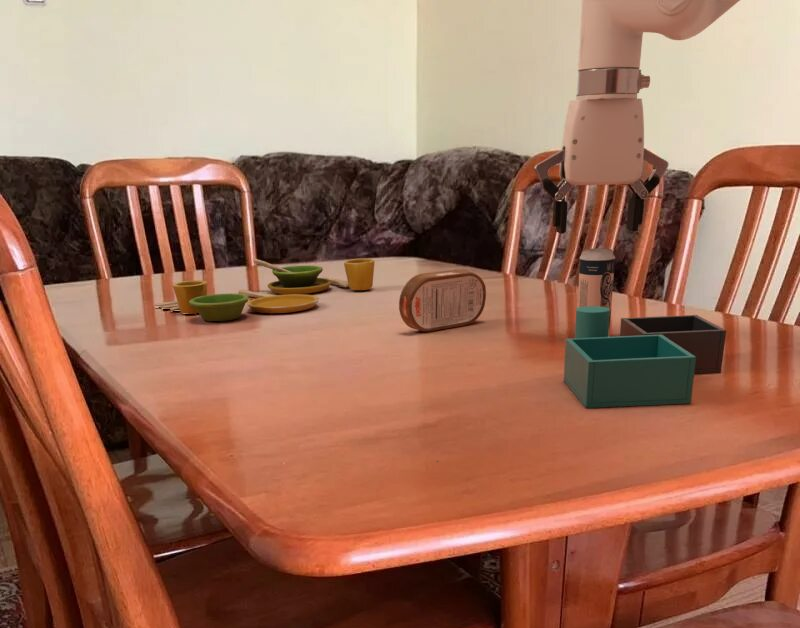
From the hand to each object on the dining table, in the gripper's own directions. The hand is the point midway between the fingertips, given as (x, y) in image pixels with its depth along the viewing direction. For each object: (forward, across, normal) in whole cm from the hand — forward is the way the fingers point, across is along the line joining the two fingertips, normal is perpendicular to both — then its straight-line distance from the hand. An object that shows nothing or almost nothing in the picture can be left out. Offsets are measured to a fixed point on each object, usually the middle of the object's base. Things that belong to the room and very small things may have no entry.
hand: (596, 231), depth 111 cm
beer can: (+15, 0, 0) cm, 15 cm away
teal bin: (+14, +2, +27) cm, 31 cm away
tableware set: (+16, +48, -43) cm, 67 cm away
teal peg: (+14, +4, +15) cm, 21 cm away
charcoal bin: (+14, -6, +16) cm, 22 cm away
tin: (+15, +20, -12) cm, 27 cm away
